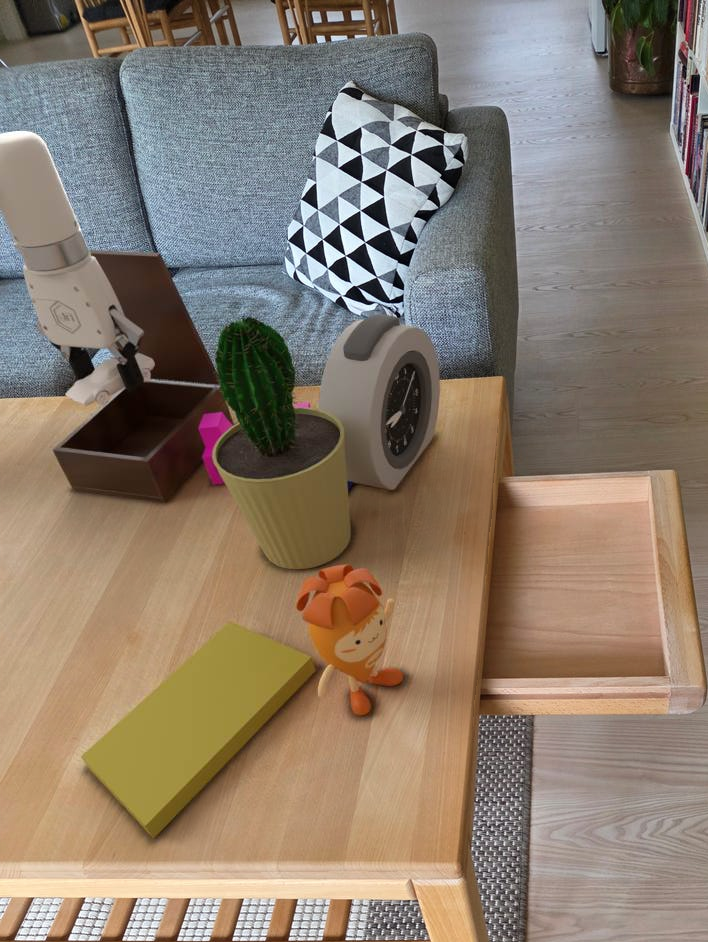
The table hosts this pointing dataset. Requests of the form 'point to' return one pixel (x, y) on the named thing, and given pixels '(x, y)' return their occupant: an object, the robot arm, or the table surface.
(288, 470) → the potted cactus
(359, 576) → the toy figure
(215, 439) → the toy block
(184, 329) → the lid
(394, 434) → the alarm clock
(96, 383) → the toy car
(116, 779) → the flat olive board
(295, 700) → the table surface
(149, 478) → the chest
